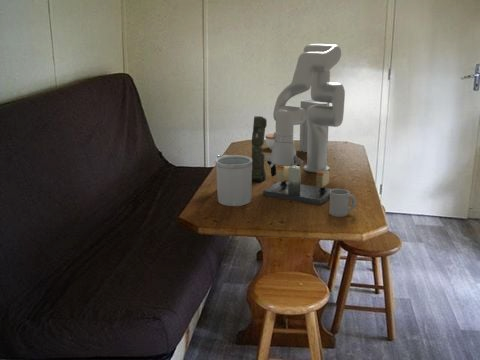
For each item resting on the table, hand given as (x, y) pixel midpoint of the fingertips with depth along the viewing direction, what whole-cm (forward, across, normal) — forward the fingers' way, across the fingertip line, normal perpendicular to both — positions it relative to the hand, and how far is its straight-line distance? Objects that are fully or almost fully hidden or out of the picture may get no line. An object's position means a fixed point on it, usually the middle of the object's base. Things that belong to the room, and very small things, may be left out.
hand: (283, 177), depth 243 cm
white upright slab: (+6, -15, +71) cm, 73 cm away
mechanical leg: (+6, -17, +9) cm, 20 cm away
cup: (+6, +33, -18) cm, 38 cm away
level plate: (+5, +9, -4) cm, 11 cm away
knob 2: (+3, +18, 0) cm, 18 cm away
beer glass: (+6, -22, -13) cm, 26 cm away
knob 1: (+3, 0, 0) cm, 3 cm away
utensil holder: (+6, -11, -24) cm, 27 cm away
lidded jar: (+6, -36, +66) cm, 75 cm away
